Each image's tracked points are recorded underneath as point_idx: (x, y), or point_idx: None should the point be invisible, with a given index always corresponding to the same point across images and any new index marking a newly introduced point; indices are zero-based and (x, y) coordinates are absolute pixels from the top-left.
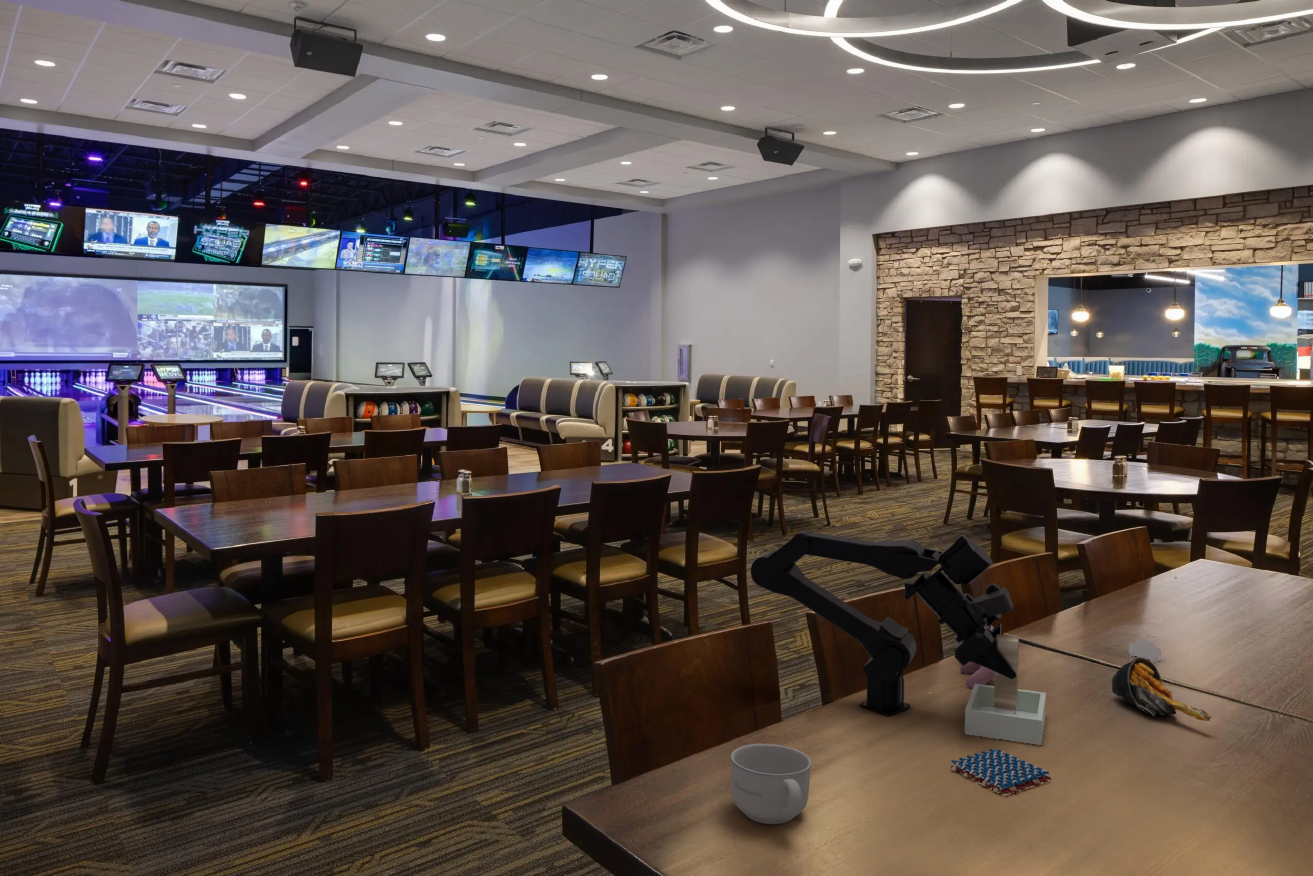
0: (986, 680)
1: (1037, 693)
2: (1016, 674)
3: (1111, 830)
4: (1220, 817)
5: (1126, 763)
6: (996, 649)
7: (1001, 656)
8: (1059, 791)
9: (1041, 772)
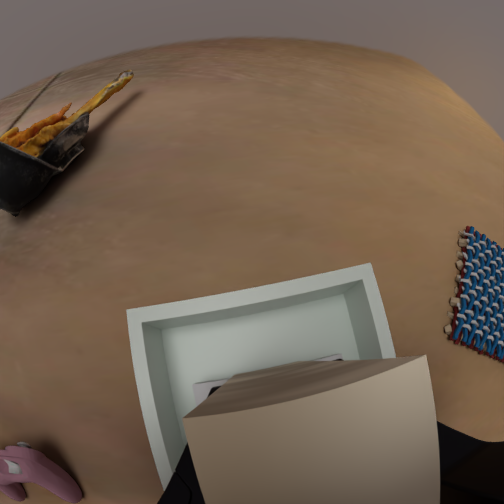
0: (54, 466)
1: (142, 331)
2: (334, 360)
3: (490, 160)
4: (387, 80)
5: (319, 146)
6: (490, 443)
7: (441, 423)
8: (473, 214)
9: (479, 235)
